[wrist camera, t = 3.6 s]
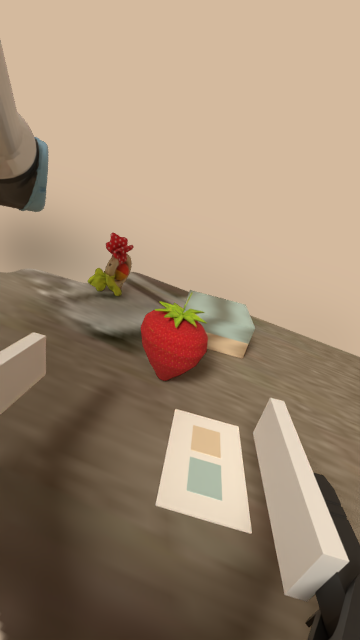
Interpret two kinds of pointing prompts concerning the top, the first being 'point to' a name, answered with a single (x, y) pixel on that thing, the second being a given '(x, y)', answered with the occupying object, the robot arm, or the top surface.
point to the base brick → (223, 323)
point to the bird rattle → (114, 266)
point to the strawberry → (173, 340)
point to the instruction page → (205, 472)
